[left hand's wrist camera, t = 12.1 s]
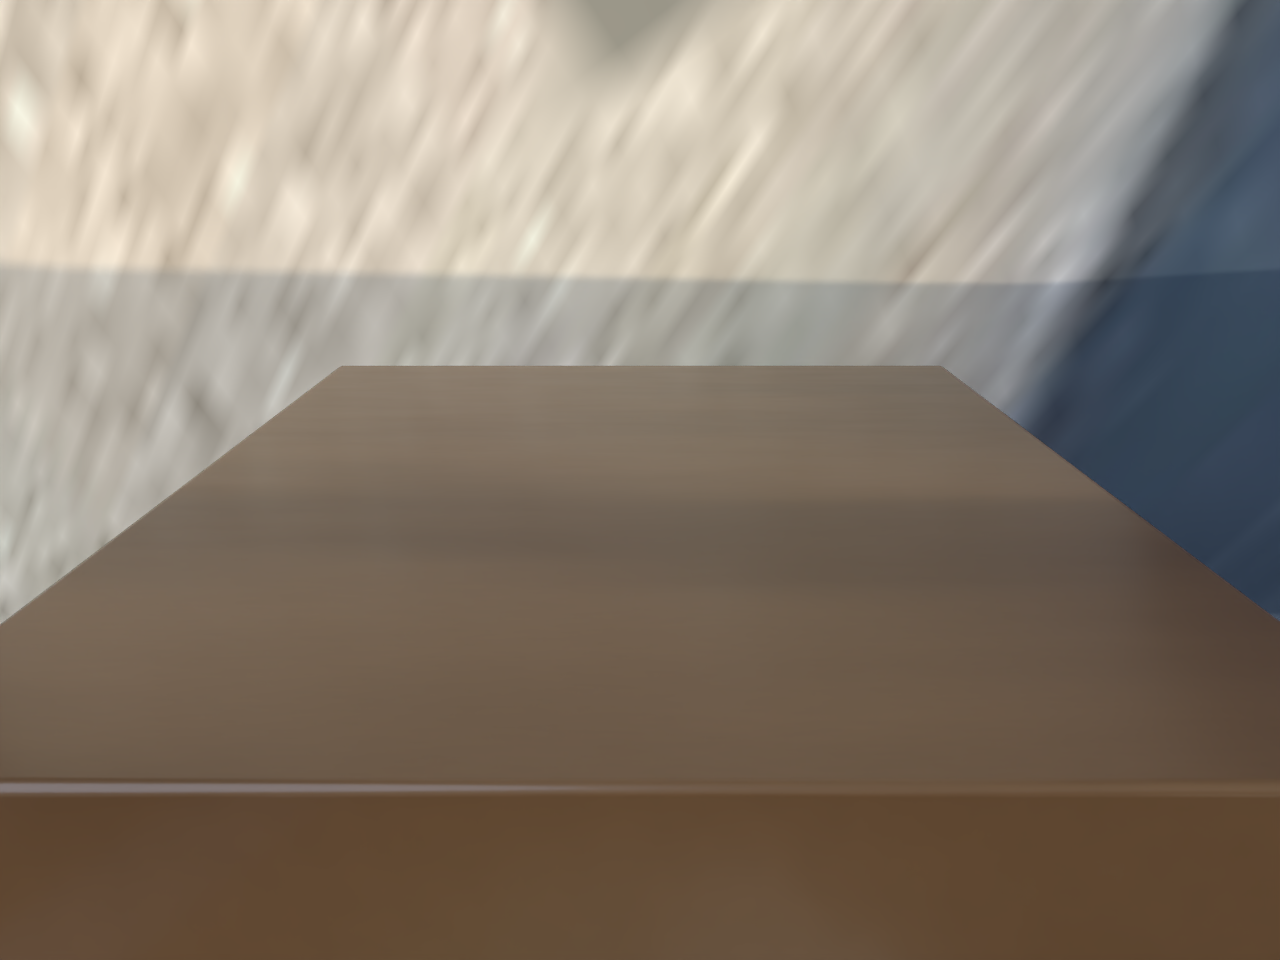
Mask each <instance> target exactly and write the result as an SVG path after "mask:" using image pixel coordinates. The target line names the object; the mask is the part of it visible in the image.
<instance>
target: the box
mask: <svg viewBox="0 0 1280 960" xmlns="http://www.w3.org/2000/svg"><path fill="white" fill-rule="evenodd" d="M0 960H1280V621H1278V620H1277V619H1276V618H1274V617H1273V616H1272V615H1270V614H1269V613H1268V612H1266V611H1265V610H1264V609H1262V608H1261V607H1260V606H1258V605H1257V604H1256V603H1254V602H1253V601H1252V600H1250V599H1249V598H1248V597H1247V596H1245V595H1244V594H1243V593H1241V592H1240V591H1239V590H1237V589H1236V588H1235V587H1233V586H1232V585H1231V584H1229V583H1228V582H1227V581H1225V580H1224V579H1223V578H1221V577H1220V576H1219V575H1217V574H1216V573H1215V572H1213V571H1212V570H1211V569H1209V568H1208V567H1207V566H1205V565H1204V564H1203V563H1202V562H1200V561H1199V560H1198V559H1196V558H1195V557H1194V556H1192V555H1191V554H1190V553H1188V552H1187V551H1186V550H1184V549H1183V548H1182V547H1180V546H1179V545H1178V544H1176V543H1175V542H1174V541H1172V540H1171V539H1170V538H1168V537H1167V536H1166V535H1164V534H1163V533H1162V532H1160V531H1159V530H1158V529H1157V528H1155V527H1154V526H1153V525H1151V524H1150V523H1149V522H1147V521H1146V520H1145V519H1143V518H1142V517H1141V516H1139V515H1138V514H1137V513H1135V512H1134V511H1133V510H1131V509H1130V508H1129V507H1127V506H1126V505H1125V504H1123V503H1122V502H1121V501H1119V500H1118V499H1117V498H1115V497H1114V496H1113V495H1112V494H1110V493H1109V492H1108V491H1106V490H1105V489H1104V488H1102V487H1101V486H1100V485H1098V484H1097V483H1096V482H1094V481H1093V480H1092V479H1090V478H1089V477H1088V476H1086V475H1085V474H1084V473H1082V472H1081V471H1080V470H1078V469H1077V468H1076V467H1074V466H1073V465H1072V464H1070V463H1069V462H1068V461H1066V460H1065V459H1064V458H1063V457H1061V456H1060V455H1059V454H1057V453H1056V452H1055V451H1053V450H1052V449H1051V448H1049V447H1048V446H1047V445H1045V444H1044V443H1043V442H1041V441H1040V440H1039V439H1037V438H1036V437H1035V436H1033V435H1032V434H1031V433H1029V432H1028V431H1027V430H1025V429H1024V428H1023V427H1021V426H1020V425H1019V424H1018V423H1016V422H1015V421H1014V420H1012V419H1011V418H1010V417H1008V416H1007V415H1006V414H1004V413H1003V412H1002V411H1000V410H999V409H998V408H996V407H995V406H994V405H992V404H991V403H990V402H988V401H987V400H986V399H984V398H983V397H982V396H980V395H979V394H978V393H976V392H975V391H974V390H973V389H971V388H970V387H969V386H967V385H966V384H965V383H963V382H962V381H961V380H959V379H958V378H957V377H955V376H954V375H953V374H951V373H950V372H949V371H947V370H946V369H945V368H943V367H941V366H341V367H339V368H338V369H337V370H335V371H334V372H333V373H331V374H330V375H329V376H327V377H326V378H325V379H323V380H322V381H321V382H319V383H318V384H317V385H315V386H314V387H313V388H311V389H310V390H309V391H308V392H306V393H305V394H304V395H302V396H301V397H300V398H298V399H297V400H296V401H294V402H293V403H292V404H290V405H289V406H288V407H286V408H285V409H284V410H282V411H281V412H280V413H279V414H277V415H276V416H275V417H273V418H272V419H271V420H269V421H268V422H267V423H265V424H264V425H263V426H261V427H260V428H259V429H257V430H256V431H255V432H253V433H252V434H251V435H250V436H248V437H247V438H246V439H244V440H243V441H242V442H240V443H239V444H238V445H236V446H235V447H234V448H232V449H231V450H230V451H228V452H227V453H226V454H224V455H223V456H222V457H221V458H219V459H218V460H217V461H215V462H214V463H213V464H211V465H210V466H209V467H207V468H206V469H205V470H203V471H202V472H201V473H199V474H198V475H197V476H195V477H194V478H193V479H192V480H190V481H189V482H188V483H186V484H185V485H184V486H182V487H181V488H180V489H178V490H177V491H176V492H174V493H173V494H172V495H170V496H169V497H168V498H166V499H165V500H164V501H163V502H161V503H160V504H159V505H157V506H156V507H155V508H153V509H152V510H151V511H149V512H148V513H147V514H145V515H144V516H143V517H141V518H140V519H139V520H137V521H136V522H135V523H134V524H132V525H131V526H130V527H128V528H127V529H126V530H124V531H123V532H122V533H120V534H119V535H118V536H116V537H115V538H114V539H112V540H111V541H110V542H108V543H107V544H106V545H105V546H103V547H102V548H101V549H99V550H98V551H97V552H95V553H94V554H93V555H91V556H90V557H89V558H87V559H86V560H85V561H83V562H82V563H81V564H79V565H78V566H77V567H76V568H74V569H73V570H72V571H70V572H69V573H68V574H66V575H65V576H64V577H62V578H61V579H60V580H58V581H57V582H56V583H54V584H53V585H52V586H50V587H49V588H48V589H47V590H45V591H44V592H43V593H41V594H40V595H39V596H37V597H36V598H35V599H33V600H32V601H31V602H29V603H28V604H27V605H25V606H24V607H23V608H21V609H20V610H19V611H18V612H16V613H15V614H14V615H12V616H11V617H10V618H8V619H7V620H6V621H4V622H3V623H2V624H0Z"/></svg>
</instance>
